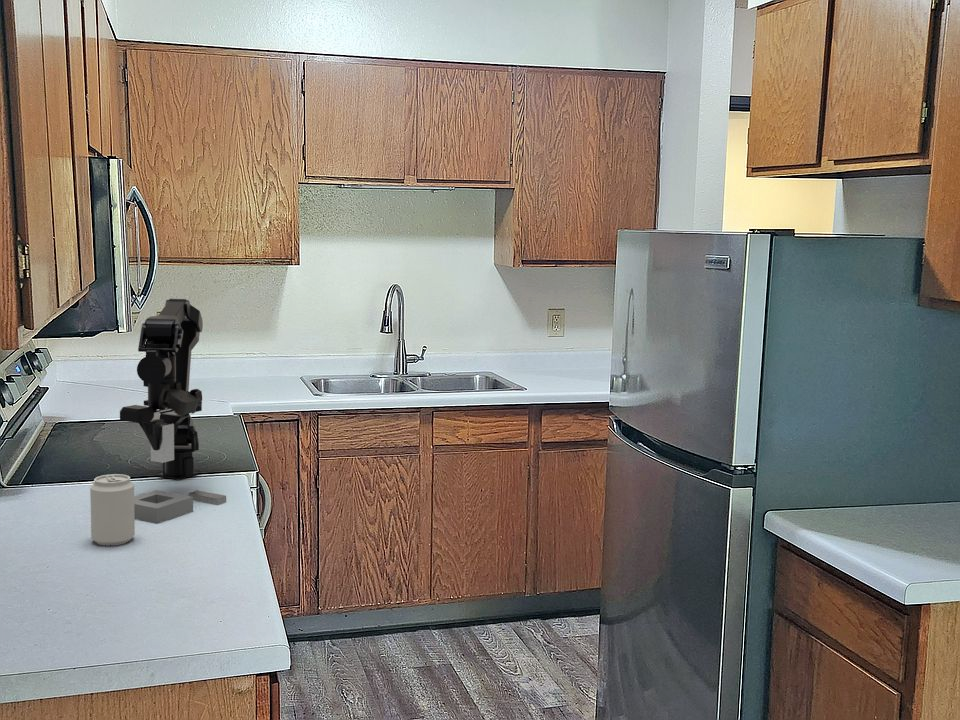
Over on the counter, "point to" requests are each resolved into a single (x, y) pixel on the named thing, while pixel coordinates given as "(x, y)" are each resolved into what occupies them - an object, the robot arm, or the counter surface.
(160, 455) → the square bit
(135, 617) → the counter surface
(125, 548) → the counter surface
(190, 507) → the bore block
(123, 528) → the can
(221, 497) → the flat bit
